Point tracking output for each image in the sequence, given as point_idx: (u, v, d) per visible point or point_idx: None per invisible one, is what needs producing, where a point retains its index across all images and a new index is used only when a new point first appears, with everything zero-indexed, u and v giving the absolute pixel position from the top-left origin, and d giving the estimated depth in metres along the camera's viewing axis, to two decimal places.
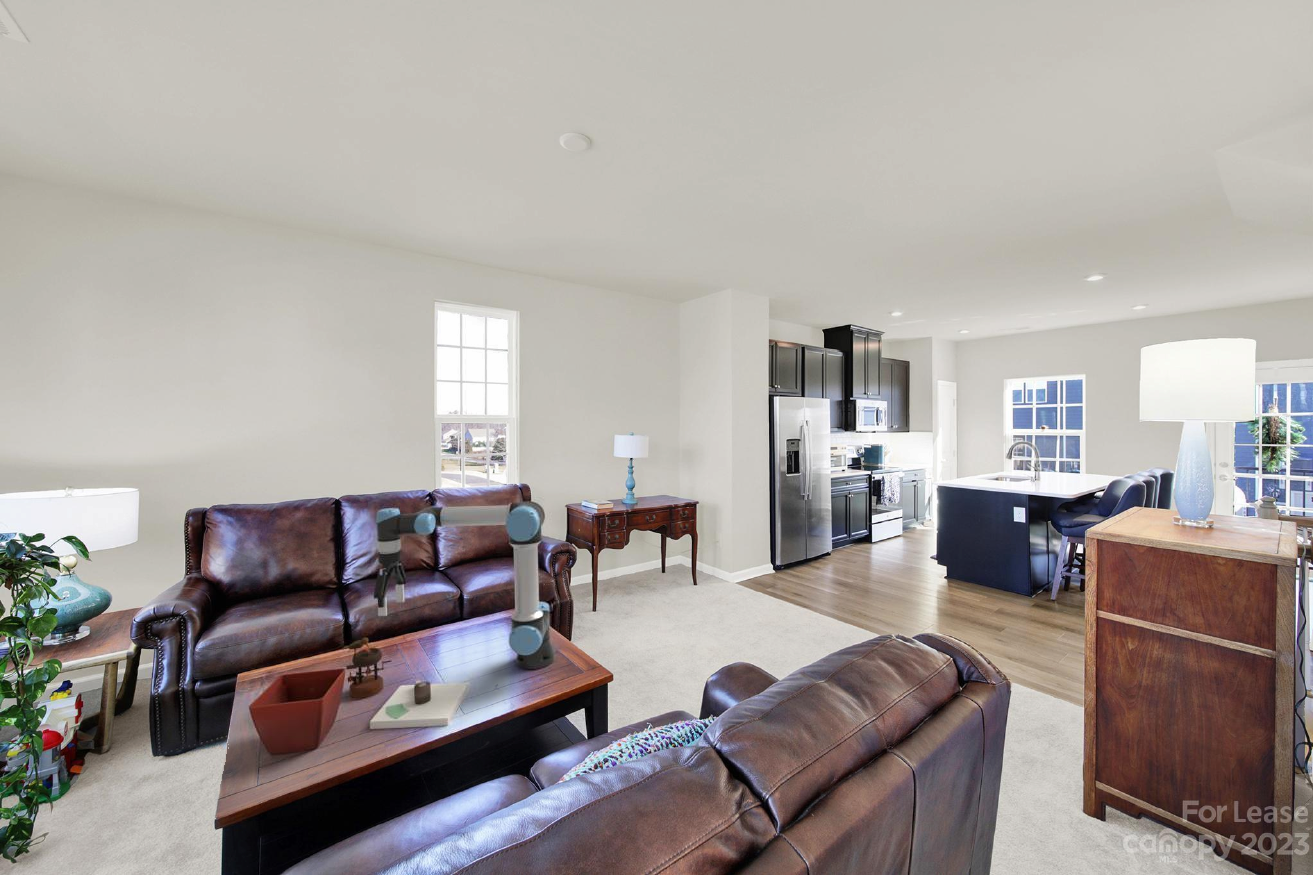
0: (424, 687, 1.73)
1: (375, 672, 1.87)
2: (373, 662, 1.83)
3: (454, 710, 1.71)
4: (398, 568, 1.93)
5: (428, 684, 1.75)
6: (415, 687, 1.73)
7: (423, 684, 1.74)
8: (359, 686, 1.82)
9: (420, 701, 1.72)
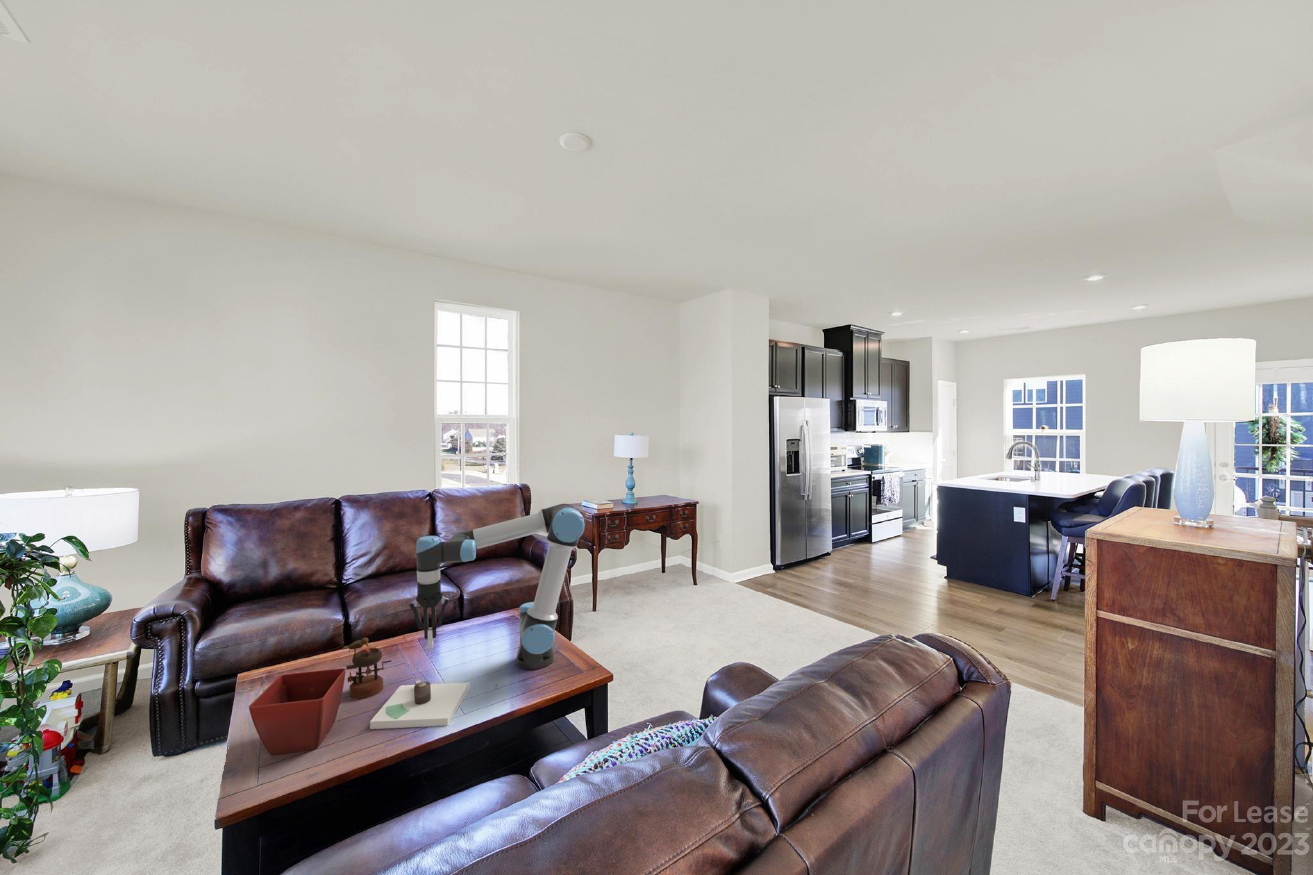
0: (424, 687, 1.73)
1: (375, 672, 1.87)
2: (373, 662, 1.83)
3: (454, 710, 1.71)
4: (434, 604, 1.81)
5: (428, 684, 1.75)
6: (415, 687, 1.73)
7: (423, 684, 1.74)
8: (359, 686, 1.82)
9: (420, 701, 1.72)
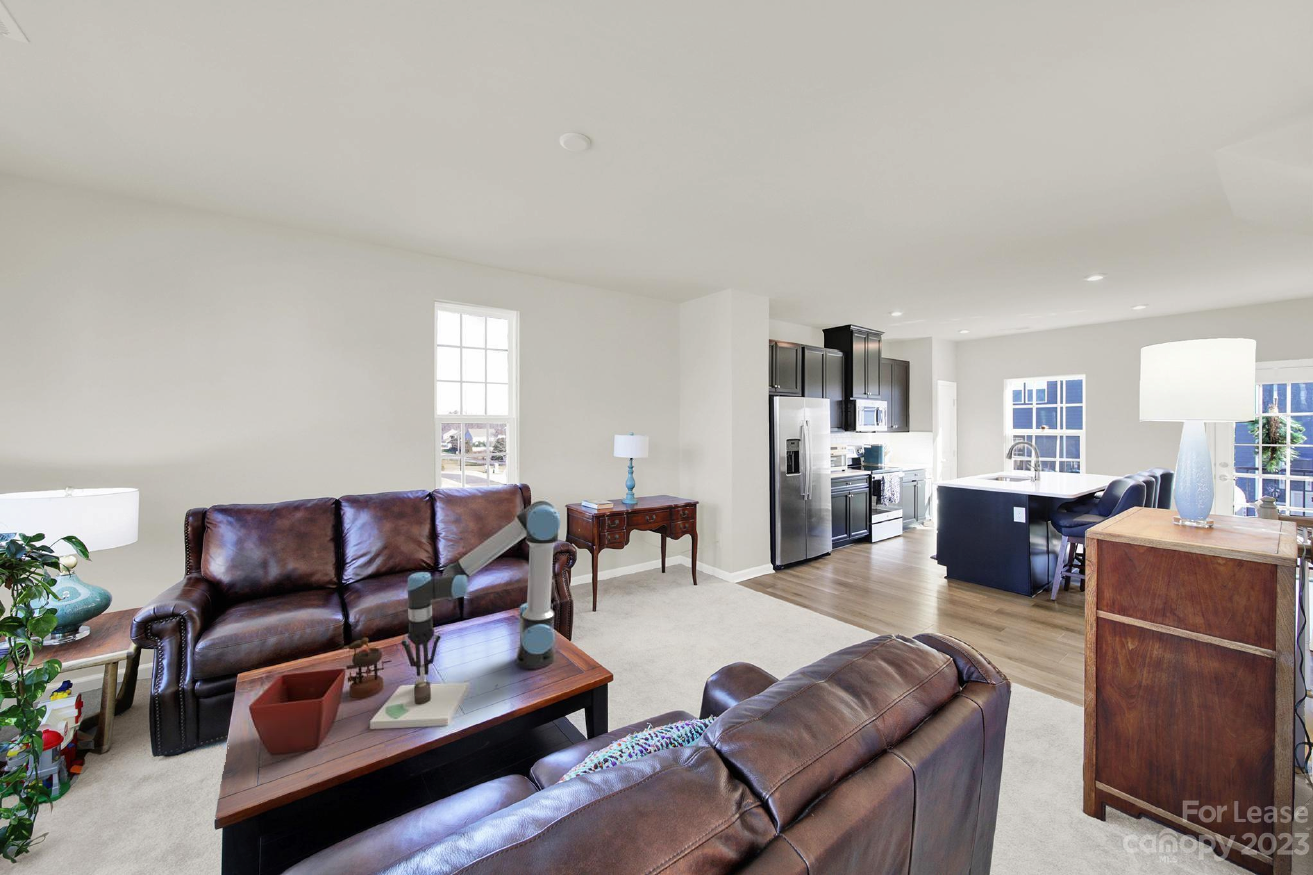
0: (424, 687, 1.73)
1: (375, 672, 1.87)
2: (373, 662, 1.83)
3: (454, 710, 1.71)
4: (426, 641, 1.81)
5: (428, 684, 1.75)
6: (415, 687, 1.73)
7: (423, 684, 1.74)
8: (359, 686, 1.82)
9: (420, 701, 1.72)
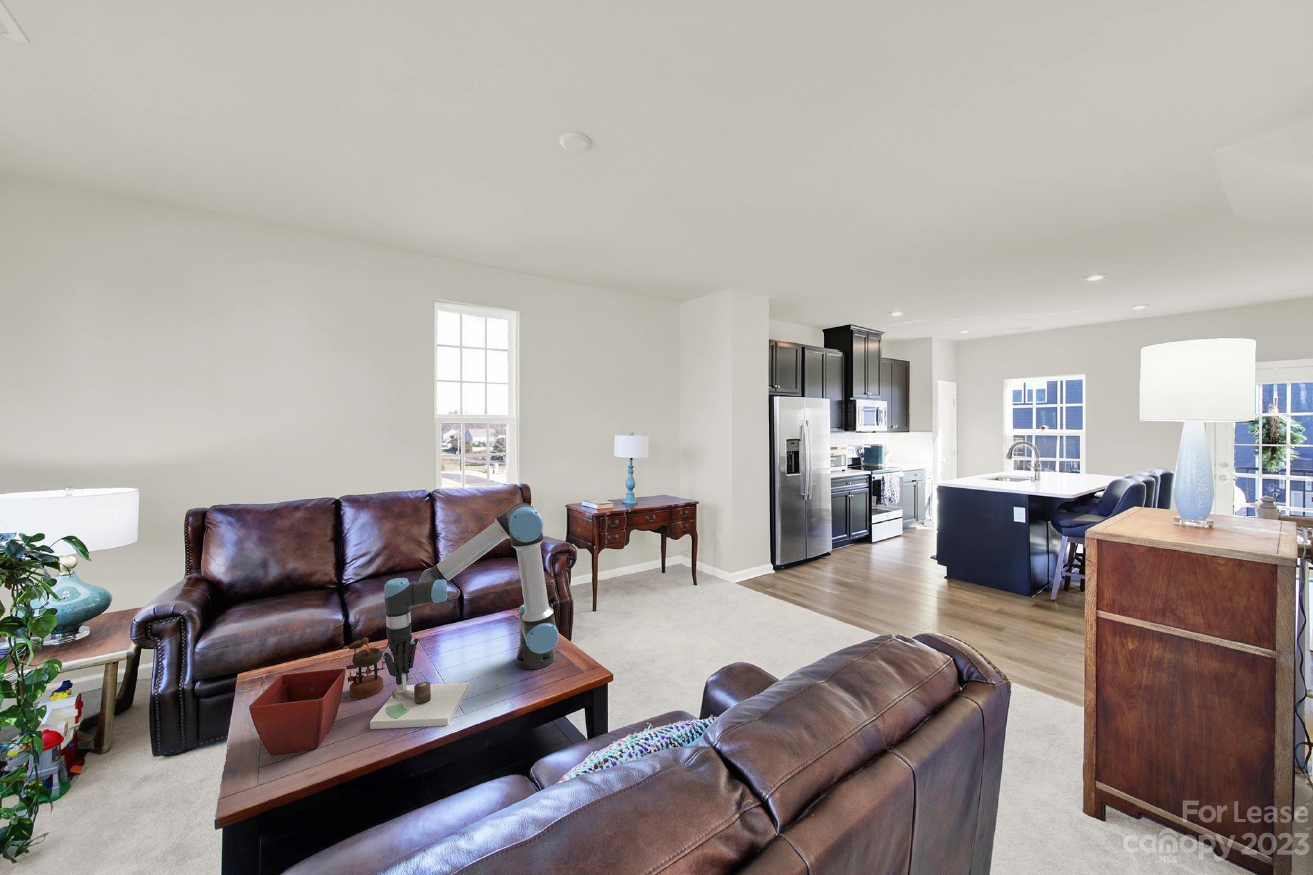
0: (427, 685, 1.74)
1: (375, 672, 1.87)
2: (373, 662, 1.83)
3: (454, 710, 1.71)
4: (408, 646, 1.78)
5: (427, 682, 1.76)
6: (418, 688, 1.72)
7: (423, 683, 1.75)
8: (359, 686, 1.82)
9: (426, 699, 1.73)
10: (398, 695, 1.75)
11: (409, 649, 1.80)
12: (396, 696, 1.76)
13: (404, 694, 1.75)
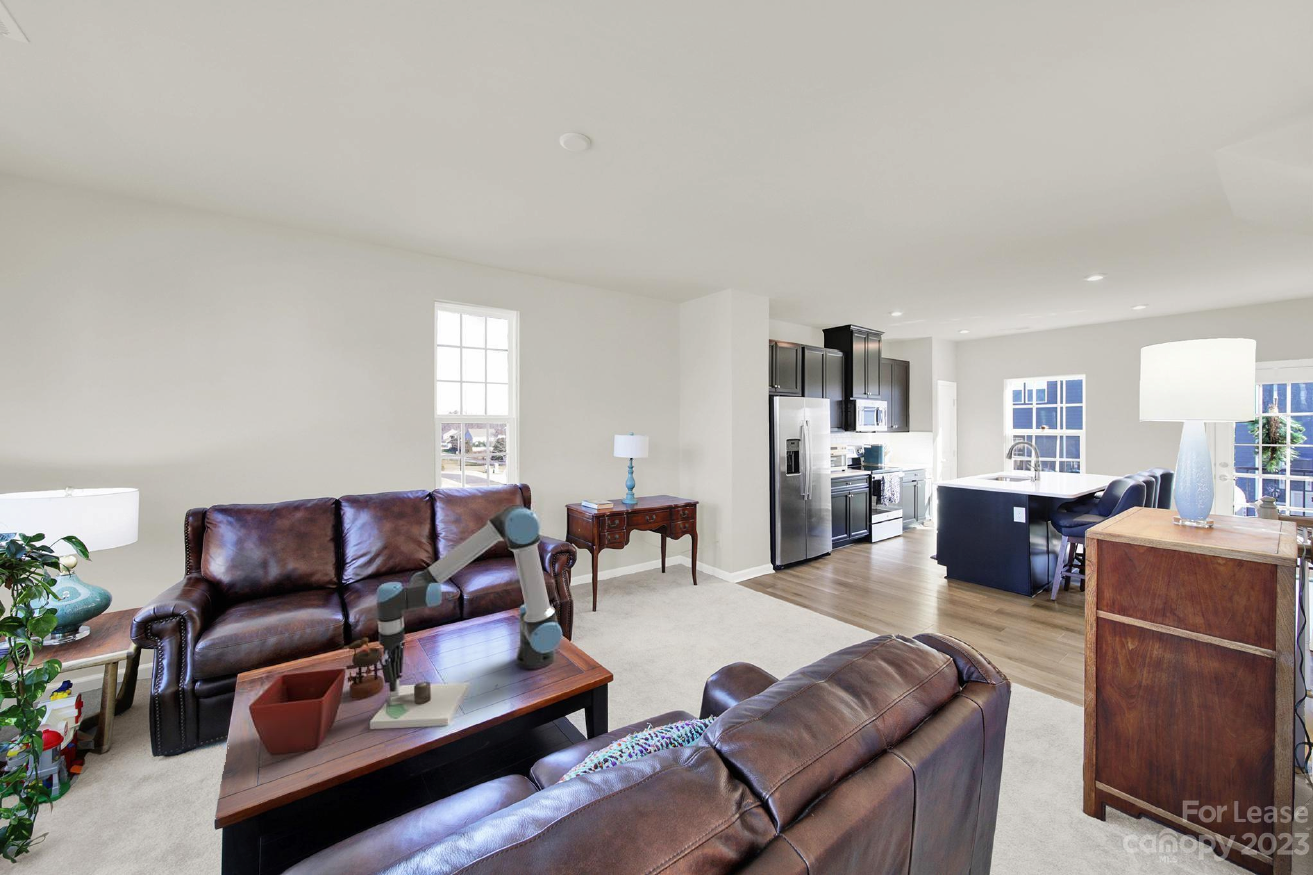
0: (428, 684, 1.75)
1: (375, 672, 1.87)
2: (373, 662, 1.83)
3: (454, 710, 1.71)
4: (400, 651, 1.74)
5: (424, 682, 1.76)
6: (421, 688, 1.72)
7: (423, 683, 1.75)
8: (359, 686, 1.82)
9: (429, 697, 1.74)
10: (394, 702, 1.71)
11: None
12: (391, 703, 1.71)
13: (401, 699, 1.72)
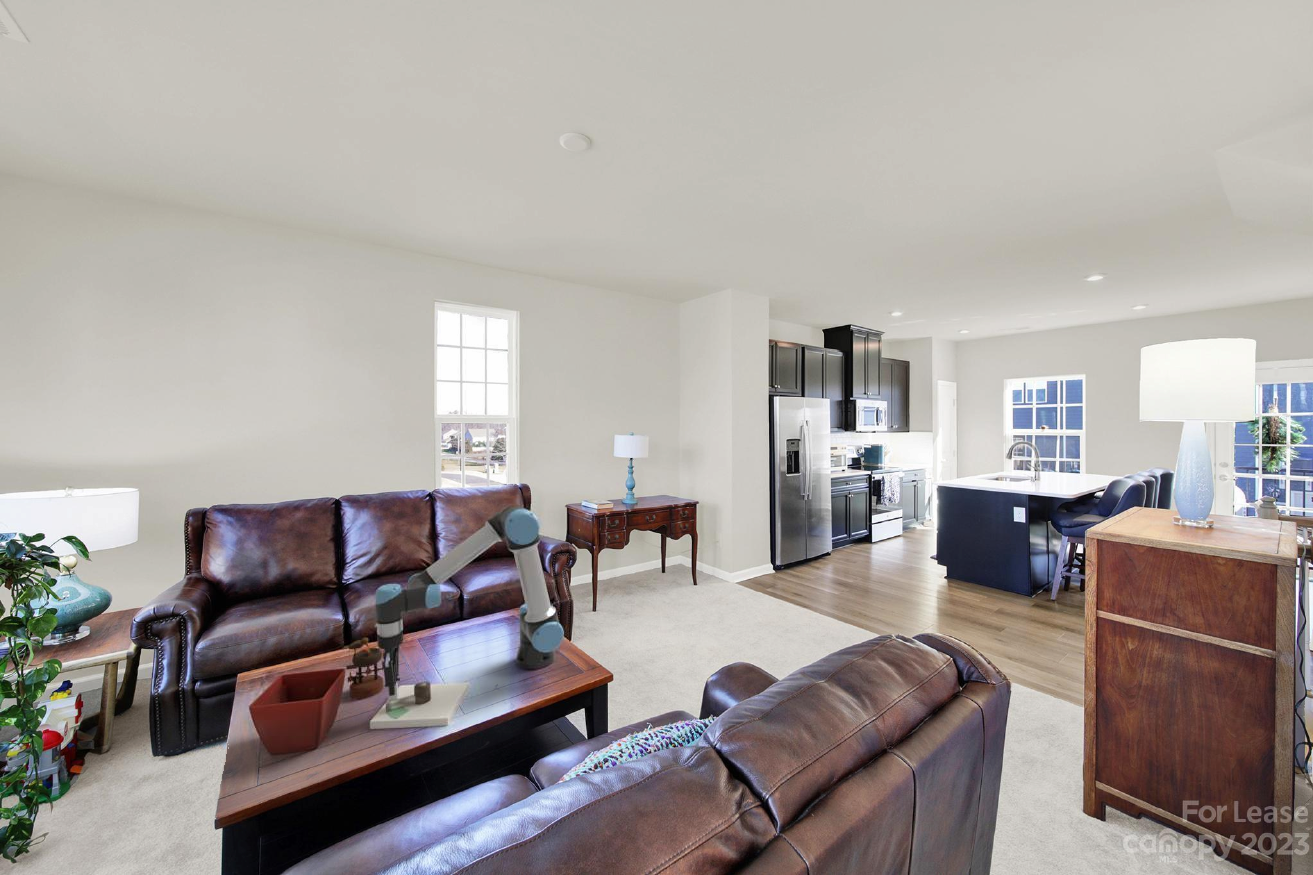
0: (427, 683, 1.76)
1: (375, 672, 1.87)
2: (373, 662, 1.83)
3: (454, 710, 1.71)
4: (398, 653, 1.73)
5: (422, 682, 1.76)
6: (423, 688, 1.73)
7: (423, 683, 1.75)
8: (359, 686, 1.82)
9: (430, 696, 1.75)
10: (394, 705, 1.69)
11: None
12: (392, 707, 1.69)
13: (402, 702, 1.70)
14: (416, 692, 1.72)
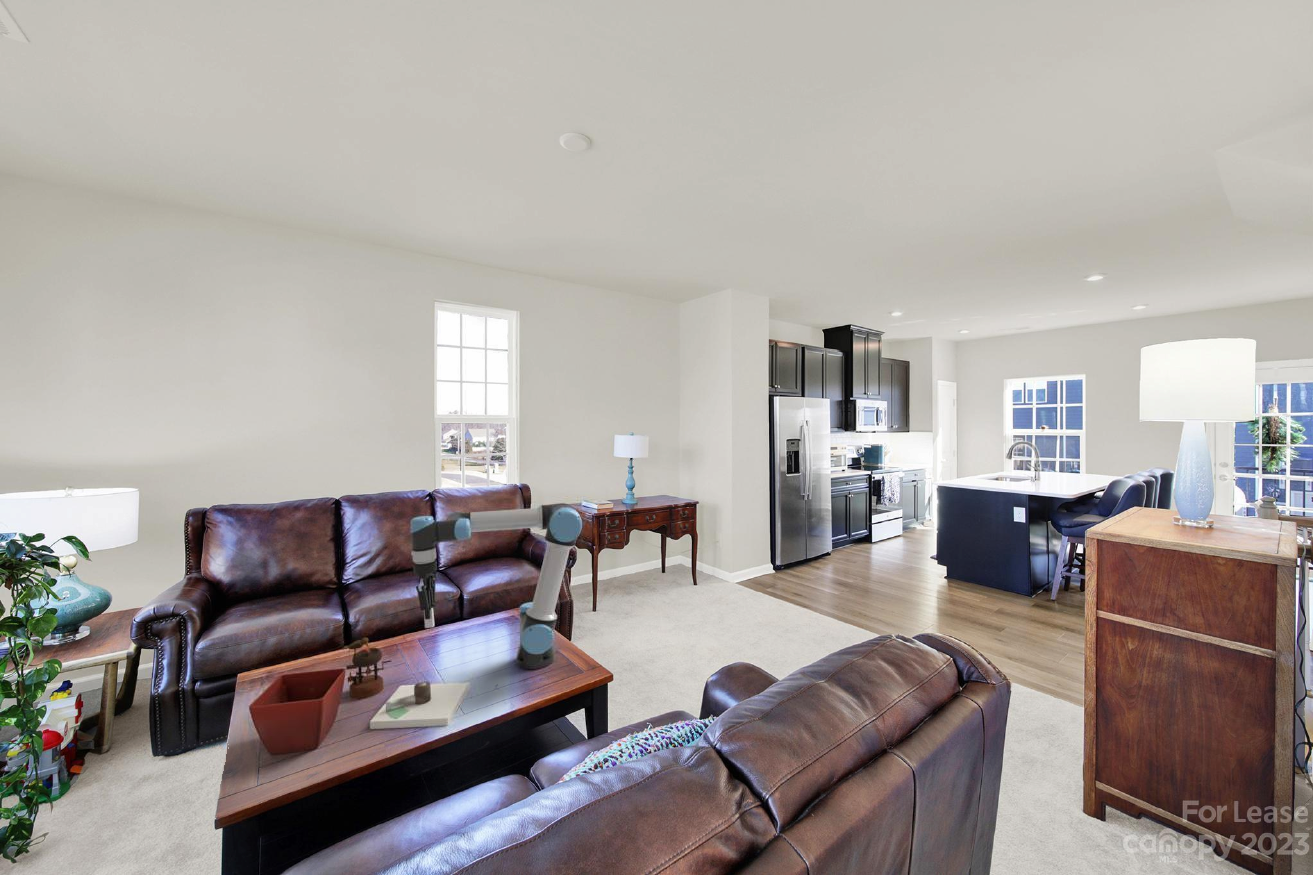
0: (427, 683, 1.76)
1: (375, 672, 1.87)
2: (373, 662, 1.83)
3: (454, 710, 1.71)
4: (433, 581, 1.84)
5: (422, 682, 1.76)
6: (423, 688, 1.73)
7: (423, 683, 1.75)
8: (359, 686, 1.82)
9: (430, 696, 1.75)
10: (394, 705, 1.69)
11: None
12: (392, 708, 1.69)
13: (402, 702, 1.70)
14: (416, 692, 1.72)
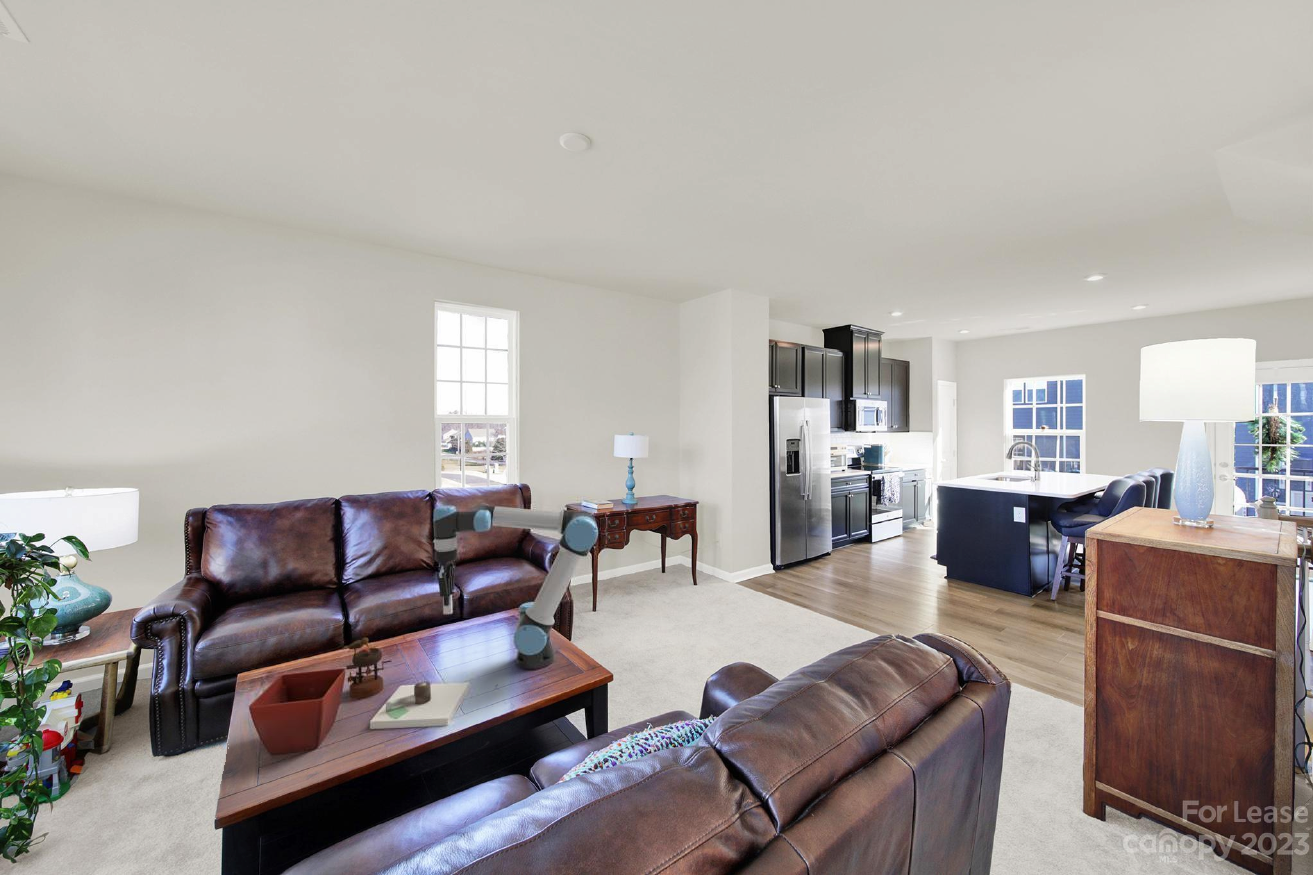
0: (427, 683, 1.76)
1: (375, 672, 1.87)
2: (373, 662, 1.83)
3: (454, 710, 1.71)
4: (453, 569, 1.90)
5: (422, 682, 1.76)
6: (423, 688, 1.73)
7: (423, 683, 1.75)
8: (359, 686, 1.82)
9: (430, 696, 1.75)
10: (394, 705, 1.69)
11: None
12: (392, 708, 1.69)
13: (402, 702, 1.70)
14: (416, 692, 1.72)
